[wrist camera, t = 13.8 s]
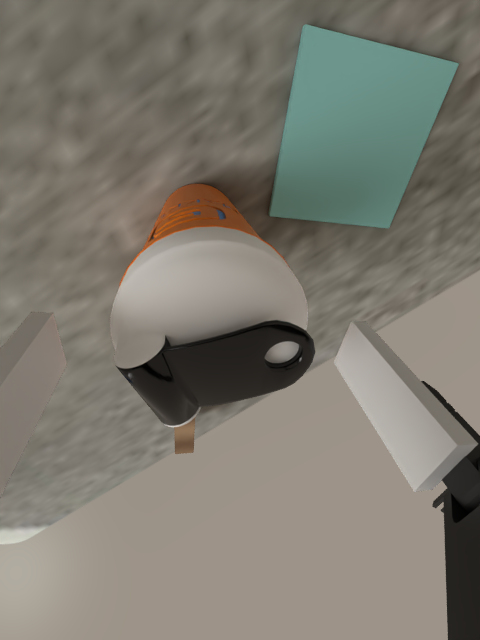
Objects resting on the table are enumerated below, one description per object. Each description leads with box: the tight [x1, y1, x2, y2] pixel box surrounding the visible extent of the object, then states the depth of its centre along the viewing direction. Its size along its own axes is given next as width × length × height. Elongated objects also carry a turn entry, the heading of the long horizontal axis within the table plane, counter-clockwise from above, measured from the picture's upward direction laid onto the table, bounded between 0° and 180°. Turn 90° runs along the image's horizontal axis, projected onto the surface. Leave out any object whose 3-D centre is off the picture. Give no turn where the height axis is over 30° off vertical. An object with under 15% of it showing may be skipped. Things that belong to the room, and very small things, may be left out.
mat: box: [268, 25, 459, 228], centre depth 25 cm, size 13×13×1 cm
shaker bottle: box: [110, 184, 315, 427], centre depth 19 cm, size 9×9×20 cm
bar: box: [175, 417, 195, 454], centre depth 33 cm, size 21×5×6 cm, turn 173°
